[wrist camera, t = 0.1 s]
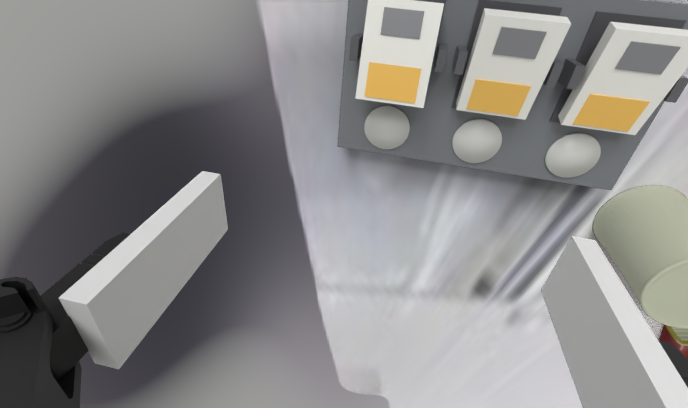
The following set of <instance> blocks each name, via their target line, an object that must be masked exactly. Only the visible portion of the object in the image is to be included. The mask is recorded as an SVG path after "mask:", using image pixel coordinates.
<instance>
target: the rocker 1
mask: <svg viewBox="0 0 688 408" xmlns="http://www.w3.org/2000/svg"><path fill="white" fill-rule="evenodd" d="M443 7H444V3H435V2H425V1H416V0H368V4H367V12H366V19H365V27H364V35H363V43H362V50H361V58H360V66H359V74H358V81H357V89H356V97H355V98H356V99H363V100H370V101H377V102H384V103H391V104H398V105H405V106H412V107H419V108H424V103H425V98H426V93H427V88H428V83H429V78H430V73H431V67H432V62H433V57H434V52H435V47H436V42H437V37H438V32H439V27H440V22H441V17H442V12H443Z"/></svg>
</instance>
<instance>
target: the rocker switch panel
mask: <svg viewBox="0 0 688 408" xmlns="http://www.w3.org/2000/svg"><path fill="white" fill-rule="evenodd" d="M416 1H425V2H435V3H444V7H443V12H442V17H441V22H440V27H439V32H438V37H437V42H436V47H435V52H434V57H433V62H432V67H431V73H430V78H429V83H428V88H427V93H426V98H425V103H424V108H419V107H412V106H405V105H398V104H391V103H384V102H377V101H370V100H363V99H356V98H355V97H356V89H357V81H358V74H359V66H360V58H361V50H362V43H363V35H364V27H365V19H366V12H367V4H368V0H348V14H347V27H346V40H345V53H344V67H343V80H342V93H341V106H340V120H339V133H338V146H337V147H342V148H349V149H355V150H361V151H368V152H374V153H380V154H386V155H393V156H399V157H405V158H411V159H418V160H424V161H430V162H437V163H443V164H449V165H455V166H462V167H468V168H474V169H480V170H487V171H493V172H499V173H506V174H512V175H518V176H524V177H531V178H537V179H543V180H549V181H556V182H562V183H568V184H575V185H581V186H587V187H593V188H600V189H606V190H612V188H613V186H614V185H615V183H616V181H617V180H618V178H619V176H620V175H621V173H622V171H623V170H624V168H625V166H626V165H627V163H628V161H629V160H630V158H631V156H632V155H633V153H634V151H635V150H636V148H637V146H638V145H639V143H640V141H641V140H642V138H643V136H644V135H645V133H646V131H647V130H648V128H649V126H650V124H651V123H652V121H653V119H654V118H655V116H656V114H657V113H658V111H659V109H660V108H661V106H662V104H663V103H664V101H667V102H675V103H676V101H677V99H678V98H679V96H680V94H681V93H682V91H683V90H684V88H685V86H686V85H687V83H688V78H686V77H684V76H681V77H680V78H679V79H678V81H677V82H676V83H675V85H674V86H673V87H672V88H671V90H670V91H669V92H668V94H667V95H666V96H665V98H664V99H663V100H662V101H661V103H660V104H659V105H658V107H657V108H656V109H655V110H654V112H653V113H652V114H651V116H650V117H649V118H648V119H647V121H646V122H645V123H644V125H643V126H642V127H641V129H640V130H639V131H638V132H637V134H636V135H630V134H623V133H616V132H609V131H602V130H595V129H588V128H581V127H573V126H566V125H561V123H560V120H559V117H558V115H559V113H560V112H561V110H562V108H563V106H564V104H565V103H566V101H567V99H568V97H569V95H570V93H571V92H572V90H573V89H574V90H576V88H577V86H578V83H579V81H580V79H581V77H582V74H583V72H584V70H585V68H586V65H587V63H588V61H589V59H590V57H591V55H592V54H593V52H594V50H595V48H596V46H597V45H598V43H599V41H600V39H601V37H602V36H603V34H604V32H605V30H606V28H607V27H608V25H609V23H610V22H619V23H629V24H638V25H648V26H657V27H666V28H676V29H685V30H688V4H681V3H671V2H661V1H650V0H416ZM484 8H488V9H497V10H506V11H516V12H525V13H535V14H544V15H553V16H563V17H567V18H568V19H569V21H570V22H571V26H570V28H569V30H568V32H567V34H566V36H565V38H564V40H563V42H562V45H561V47H560V49H559V51H558V53H557V55H556V57H555V59H554V61H553V63H552V65H551V67H550V70H549V72H548V74H547V76H546V78H545V80H544V82H543V84H542V86H541V88H540V90H539V93H538V95H537V97H536V99H535V101H534V103H533V105H532V107H531V109H530V111H529V113H528V116H527V118H526V120H524V119H517V118H510V117H502V116H495V115H488V114H481V113H474V112H467V111H460V110H456V101H457V98H458V94H459V91H460V88H461V84H462V81H463V78H464V74H465V71H466V68H467V64H468V61H469V58H470V54H471V51H472V47H473V44H474V41H475V37H476V34H477V31H478V27H479V24H480V21H481V17H482V14H483V11H484Z"/></svg>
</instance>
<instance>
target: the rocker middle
mask: <svg viewBox="0 0 688 408" xmlns="http://www.w3.org/2000/svg"><path fill="white" fill-rule="evenodd" d="M570 26H571V22H570V21H569V19H568V18H567V17H563V16H553V15H544V14H535V13H525V12H516V11H506V10H497V9H488V8H484V11H483V14H482V17H481V21H480V24H479V27H478V31H477V34H476V37H475V41H474V44H473V47H472V51H471V54H470V58H469V61H468V64H467V68H466V71H465V74H464V78H463V81H462V84H461V88H460V91H459V94H458V98H457V101H456V110H460V111H467V112H474V113H481V114H488V115H495V116H502V117H510V118H517V119H524V120H526V118H527V116H528V113H529V111H530V109H531V107H532V105H533V103H534V101H535V99H536V97H537V95H538V93H539V90H540V88H541V86H542V84H543V82H544V80H545V78H546V76H547V74H548V72H549V70H550V67H551V65H552V63H553V61H554V59H555V57H556V55H557V53H558V51H559V49H560V47H561V45H562V42H563V40H564V38H565V36H566V34H567V32H568V30H569V28H570Z"/></svg>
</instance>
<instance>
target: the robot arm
mask: <svg viewBox="0 0 688 408" xmlns="http://www.w3.org/2000/svg"><path fill="white" fill-rule="evenodd" d="M227 230H228V226H227V218H226V211H225V204H224V196H223V189H222V181H221V174H216V173H211V172H205V171H202V172H201V173H200V174H199V175H197V176H196V177H195V178H194V179H193V180H192V181H191V182H190V183H189V184H187V185H186V186H185V187H184V188H183V189H182V190H181V191H179V192H178V193H177V194H176V195H175V196H174V197H173V198H171V199H170V200H169V201H168V202H167V203H166V204H165V205H163V206H162V207H161V208H160V209H159V210H158V211H157V212H156V213H154V214H153V215H152V216H151V217H150V218H149V219H147V220H146V221H145V222H144V223H143V224H142V225H141V226H140V227H138V228H137V229H136V230H135V231H134V232H133V233H132V234H128V233H121V234H119V235H117V236H116V237H113V238H112V239H109V240H107V241H106V242H104V243H103V244H102V245H101V246H100V247H99V248H97V249H96V250H95V251H94V252H93V254H92V255H91V254H90V255H89V256H88V257H87V258H85V259H84V260H83V261H82V263H81V264H78V265H77V266H76V267H74V268H73V269H72V270H71V271H70V272H69V273H68V274H66V275H65V276H64V277H63V278H61V279H60V280H59V281H58V282H57V283H55V284H54V285H53V286H52V287H51V288H49V289H48V290H47V291H46V292H45V293H43V294H42V295H41V296H40V295H39V293H38V292H37V290H36V288H35V287H34V285H33V283H32V282H31V281H29V280H28V279H26V278H19V277H13V278H5V279H1V280H0V408H80V388H81V365H80V362H79V360H80V359H81V358H82V357H83V356H84V355H85V354H86V352H87V351H88V352H89V354H90V356H91V357H92V359H93V361H94V363H96V364H100V365H104V366H109V367H112V368H116V369H119V368H120V367H121V366H122V365H123V363H124V362H125V361H126V359H127V358H128V357H129V356H130V354H131V353H132V352H133V350H134V349H135V348H136V346H137V345H138V344H139V343H140V341H141V340H142V339H143V338H144V336H145V335H146V334H147V332H148V331H149V330H150V329H151V327H152V326H153V325H154V323H155V322H156V321H157V320H158V318H159V317H160V316H161V314H162V313H163V312H164V310H165V309H166V308H167V307H168V305H169V304H170V303H171V302H172V300H173V299H174V298H175V297H176V295H177V294H178V293H179V291H180V290H181V289H182V287H183V286H184V285H185V284H186V282H187V281H188V280H189V279H190V277H191V276H192V275H193V273H194V272H195V271H196V270H197V268H198V267H199V266H200V264H201V263H202V262H203V260H204V259H205V258H206V257H207V255H208V254H209V253H210V252H211V250H212V249H213V248H214V246H215V245H216V244H217V242H218V241H219V240H220V239H221V237H222V236H223V235H224V234H225V232H226V231H227ZM541 292H542V294H543V297H544V300H545V303H546V306H547V308H548V311H549V314H550V317H551V320H552V322H553V325H554V328H555V331H556V334H557V336H558V339H559V342H560V345H561V348H562V350H563V353H564V356H565V359H566V362H567V364H568V367H569V370H570V373H571V376H572V379H573V381H574V384H575V387H576V390H577V393H578V395H579V398H580V401H581V404H582V407H583V408H688V359H687V358H686V357H685V356H684V355H683V354H682V353H681V352H680V351H679V350H678V349H677V348H676V347H675V346H673V345H672V344H671V343H668V342H663V341H658V339H657V338H656V336H655V335H654V333H653V331H652V330H651V328H650V327H649V325H648V323H647V322H646V320H645V319H644V317H643V315H642V314H641V312H640V311H639V309H638V308H637V306H636V304H635V303H634V301H633V300H632V298H631V296H630V295H629V293H628V292H627V290H626V288H625V287H624V285H623V284H622V282H621V280H620V279H619V277H618V276H617V274H616V272H615V271H614V269H613V268H612V266H611V264H610V263H609V261H608V260H607V258H606V256H605V255H604V253H603V252H602V250H601V248H600V247H599V245H598V244H597V242H596V240H592V239H586V238H581V237H575V236H572V237H571V239H570V240H569V242H568V244H567V246H566V247H565V249H564V251H563V253H562V254H561V256H560V258H559V260H558V261H557V263H556V265H555V267H554V268H553V270H552V272H551V274H550V275H549V277H548V279H547V281H546V282H545V284H544V286H543V288H542V289H541Z"/></svg>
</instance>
